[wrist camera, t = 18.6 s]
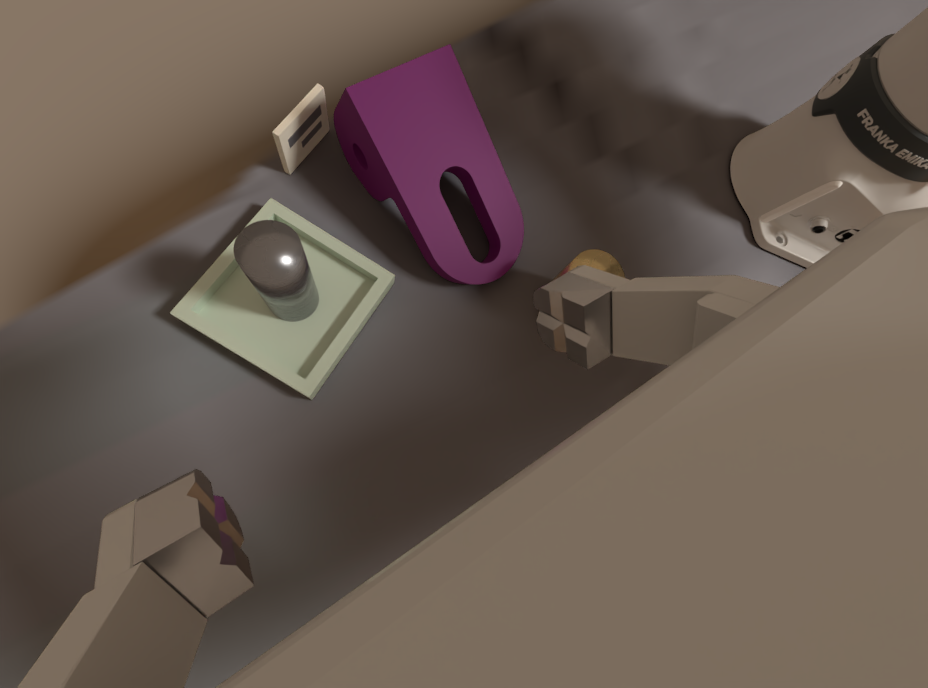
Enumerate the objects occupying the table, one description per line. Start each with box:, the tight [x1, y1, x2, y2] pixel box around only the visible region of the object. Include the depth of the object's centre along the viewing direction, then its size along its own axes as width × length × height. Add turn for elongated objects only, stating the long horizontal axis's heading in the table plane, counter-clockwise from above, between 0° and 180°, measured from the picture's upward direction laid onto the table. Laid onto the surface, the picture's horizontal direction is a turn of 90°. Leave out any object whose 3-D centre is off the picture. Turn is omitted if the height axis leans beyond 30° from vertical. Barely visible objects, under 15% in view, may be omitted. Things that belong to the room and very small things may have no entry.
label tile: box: [272, 84, 330, 175], centre depth 38 cm, size 1×6×5 cm, turn 150°
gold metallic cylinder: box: [551, 249, 625, 282], centre depth 38 cm, size 5×5×7 cm
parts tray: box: [170, 198, 395, 400], centre depth 36 cm, size 12×12×2 cm
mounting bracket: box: [334, 44, 524, 284], centre depth 40 cm, size 10×8×18 cm
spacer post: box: [234, 220, 319, 322], centre depth 32 cm, size 4×4×9 cm
